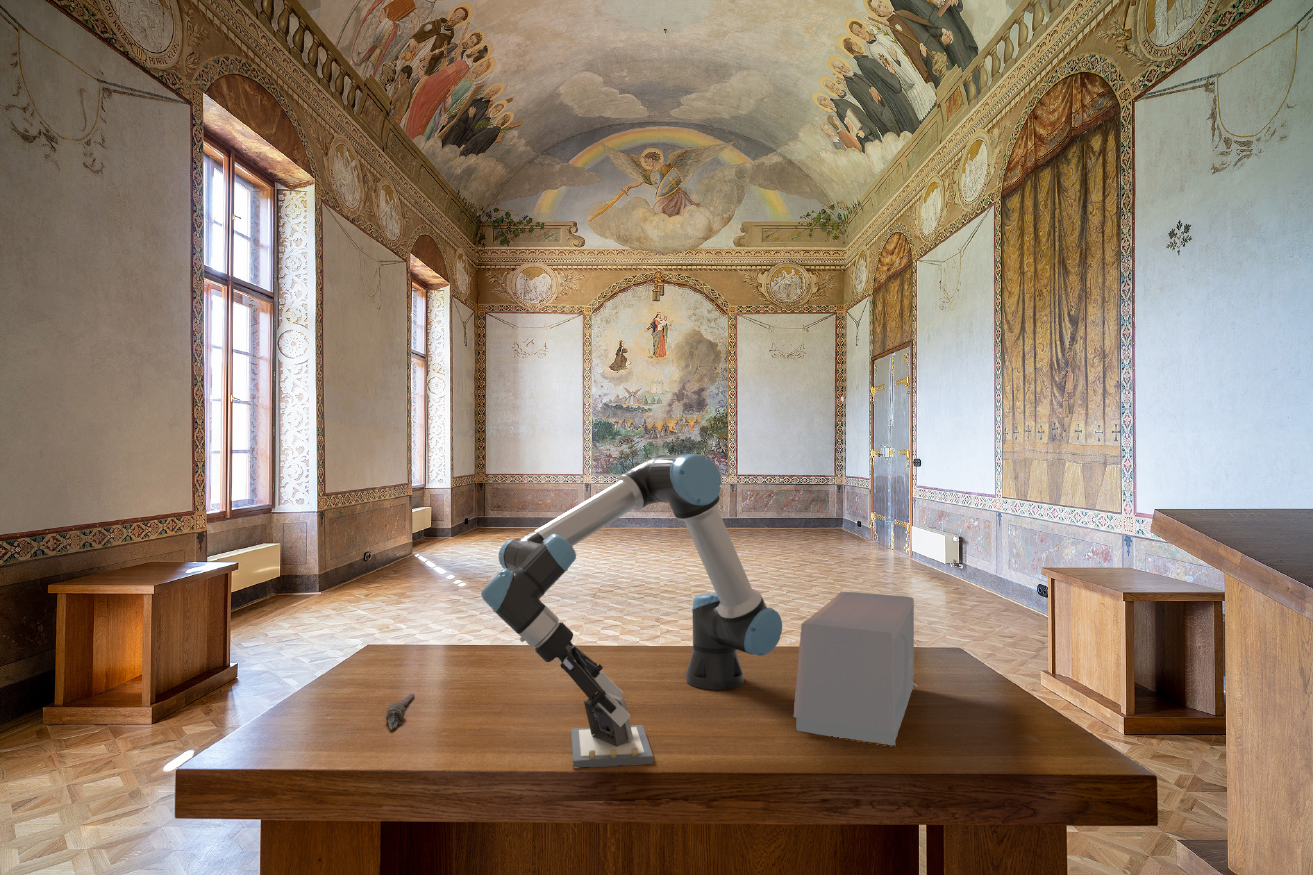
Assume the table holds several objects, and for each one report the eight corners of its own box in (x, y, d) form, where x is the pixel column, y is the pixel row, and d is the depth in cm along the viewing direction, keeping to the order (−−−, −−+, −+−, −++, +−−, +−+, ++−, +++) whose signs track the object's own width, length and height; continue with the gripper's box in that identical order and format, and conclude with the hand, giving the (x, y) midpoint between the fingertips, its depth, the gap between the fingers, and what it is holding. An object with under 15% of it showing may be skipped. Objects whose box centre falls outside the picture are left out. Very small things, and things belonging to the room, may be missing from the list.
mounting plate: (642, 731, 142) (642, 719, 142) (653, 763, 126) (653, 749, 126) (571, 735, 139) (571, 722, 139) (573, 768, 124) (573, 754, 124)
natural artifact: (384, 739, 141) (373, 723, 140) (411, 699, 163) (401, 686, 163) (399, 728, 141) (388, 712, 141) (424, 689, 163) (415, 676, 163)
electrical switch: (634, 742, 132) (631, 695, 132) (615, 752, 128) (611, 704, 128) (602, 730, 138) (599, 685, 138) (583, 739, 134) (580, 693, 134)
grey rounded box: (835, 677, 181) (834, 589, 182) (924, 690, 170) (923, 597, 172) (786, 733, 141) (786, 620, 142) (898, 755, 131) (897, 633, 132)
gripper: (535, 634, 144) (604, 701, 145) (530, 666, 119) (614, 748, 120) (560, 608, 145) (628, 676, 146) (561, 635, 120) (643, 716, 122)
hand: (622, 708), depth 133 cm, fingers open, 13 cm apart
